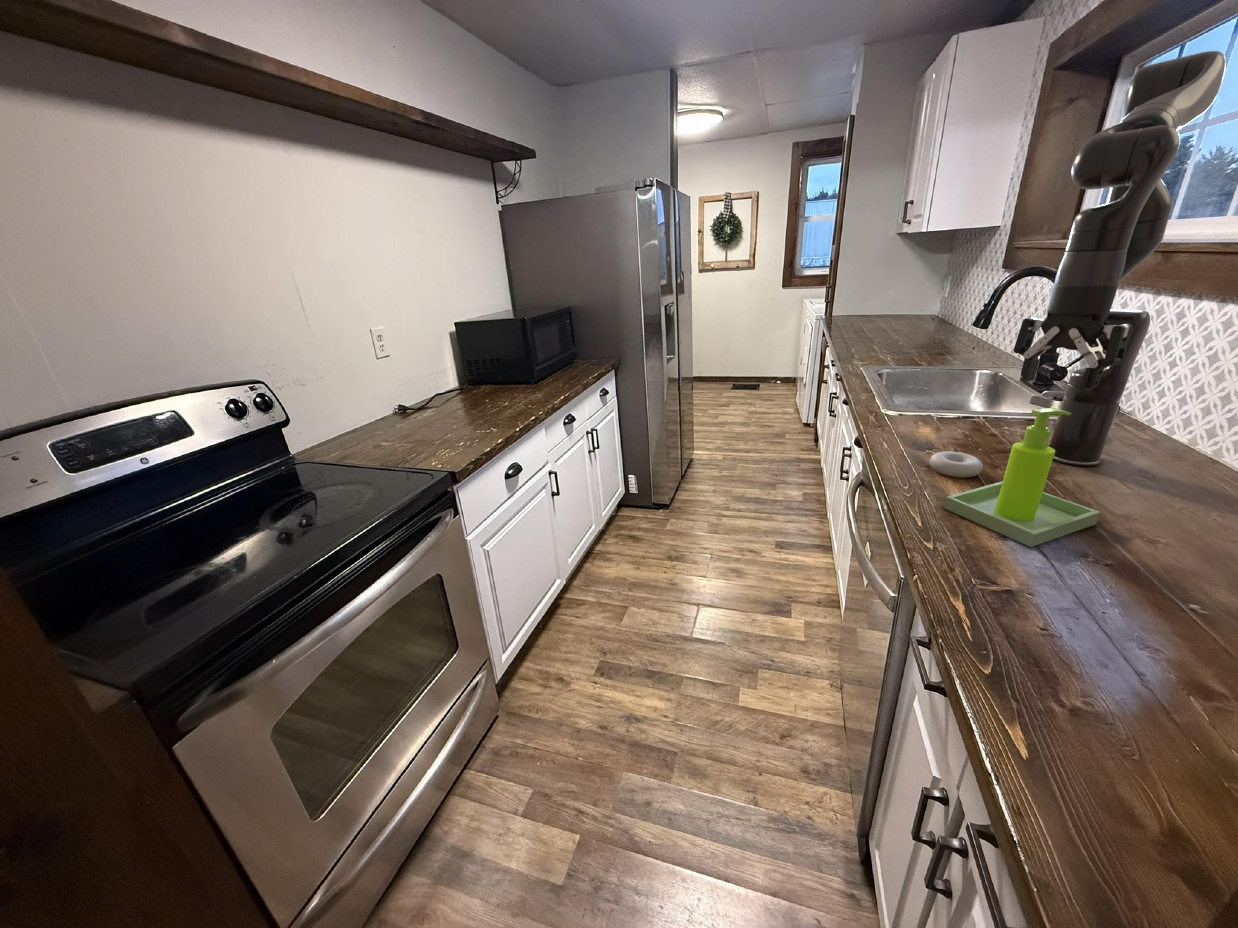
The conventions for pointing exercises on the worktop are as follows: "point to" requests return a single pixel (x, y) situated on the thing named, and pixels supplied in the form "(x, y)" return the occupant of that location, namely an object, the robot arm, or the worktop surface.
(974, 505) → the tray
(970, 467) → the donut
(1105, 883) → the worktop surface
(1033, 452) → the soap dispenser
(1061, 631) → the worktop surface
